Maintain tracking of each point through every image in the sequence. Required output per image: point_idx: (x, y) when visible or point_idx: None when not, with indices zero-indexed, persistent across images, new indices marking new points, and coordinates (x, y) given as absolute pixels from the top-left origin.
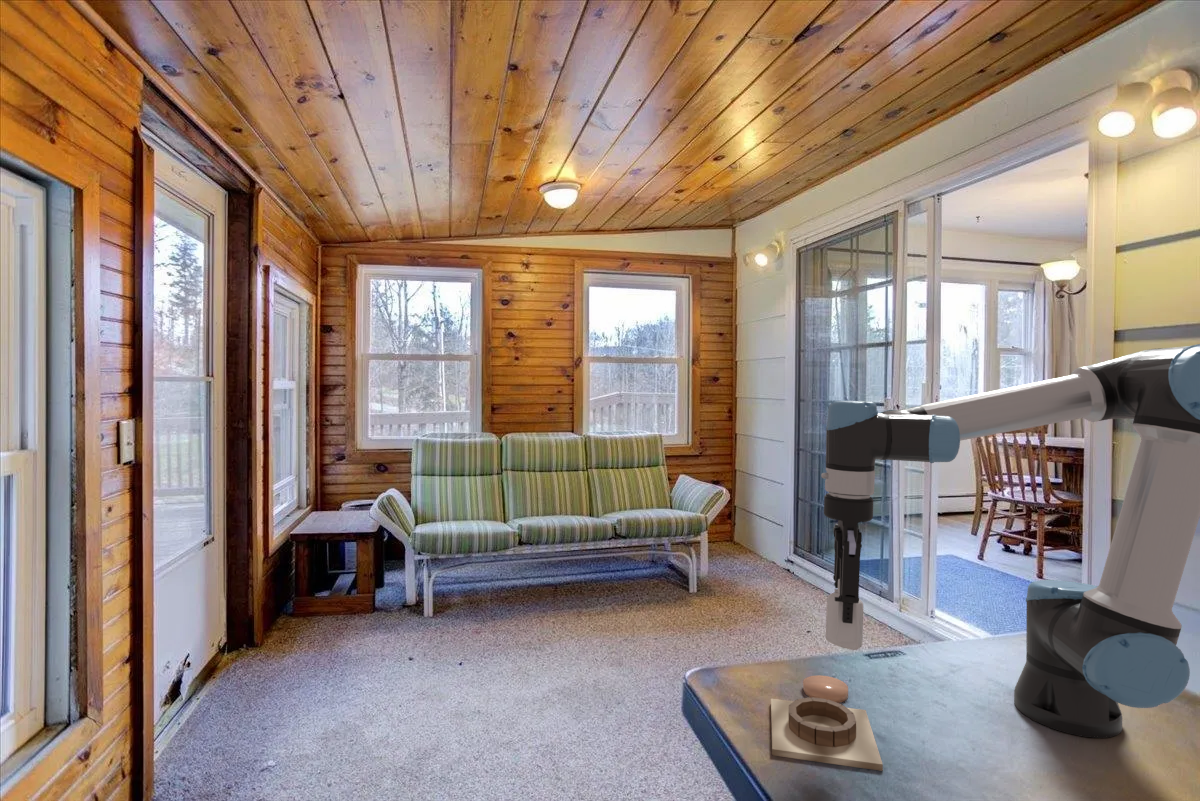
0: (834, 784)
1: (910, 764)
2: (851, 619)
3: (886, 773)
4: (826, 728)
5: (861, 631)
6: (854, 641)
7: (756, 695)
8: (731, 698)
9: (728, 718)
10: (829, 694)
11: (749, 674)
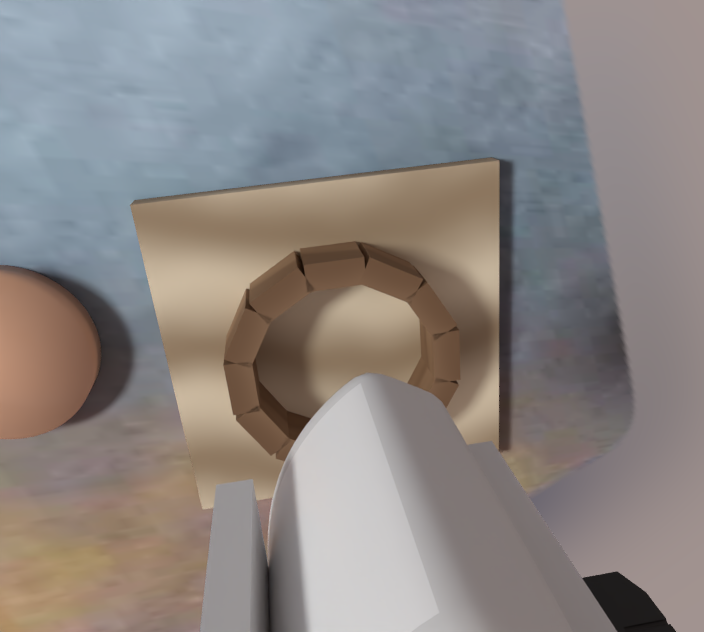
0: (585, 291)
1: (426, 59)
2: (654, 611)
3: (499, 146)
4: (443, 350)
5: (430, 439)
6: (492, 448)
7: (164, 542)
8: None
9: None
10: (83, 342)
11: (15, 590)
